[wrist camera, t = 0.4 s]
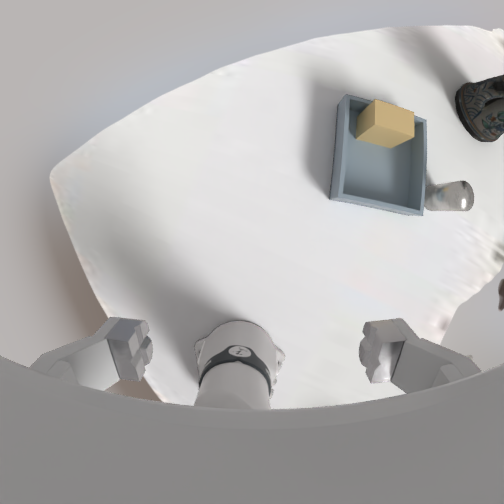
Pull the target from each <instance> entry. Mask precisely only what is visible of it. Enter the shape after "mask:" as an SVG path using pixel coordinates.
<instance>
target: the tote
mask: <svg viewBox="0 0 504 504" xmlns="http://www.w3.org/2000/svg"><path fill="white" fill-rule="evenodd" d="M372 102H373V101H370V100H366V99H363V98H359V97H355V96H351V95H347V94H346V95H345V96H344V97H343V99H342V100H341V101H340V103H339V104H338V107H337V123H336V137H335V149H334V160H333V170H332V180H331V189H330V197H329V200H335V201H340V202H346V203H351V204H356V205H361V206H366V207H371V208H376V209H381V210H386V211H390V212H395V213H399V214H404V215H408V216H423V210H424V199H425V185H426V164H427V126H426V120H425V119H422V118H420V117H417V116H415V115H414V138H411V139H409V140H407V141H405V142H403V143H401V144H399V145H397V146H395V147H393V148H391V149H390V148H387V147H383V146H380V145H376V144H372V143H369V142H365V141H361V140H357V139H356V123H357V116H358V115H359V114H360V113H361V112H362V111H363V110H364V109H365V108H366V107H367V106H369V105H370V104H371V103H372Z"/></svg>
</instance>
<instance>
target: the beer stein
mask: <svg viewBox="0 0 504 504" xmlns="http://www.w3.org/2000/svg"><path fill="white" fill-rule="evenodd" d="M455 103H456V110H457V113H458V115H459V118H460V120H461V122H462V124H463V125H464V127H465V129H466V130H467V131H468V132H469V133H470V135H471V136H472V137H473V138H475V139H477V140H478V141H481V142H493V141H496V140H497V139H498V138H499V137H500V136H501V135H502V134H503V133H504V75H501V76H497V77H493V78H490V79H486V80H483V81H480V82H476V83H470V82H469V83H465V84H463V85H462V86H461V88H460V89H459V90H458V91H457V93H456V97H455Z"/></svg>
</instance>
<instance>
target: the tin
mask: <svg viewBox="0 0 504 504" xmlns="http://www.w3.org/2000/svg"><path fill="white" fill-rule="evenodd" d="M473 203H474V193H473V190H472V187H471V186H470V184H469V183H468V182H466V181H457V182H450V183H443V184H437V185H430V186H427V187H425V199H424V206H425V207H426V209H428V210H430V211H468V210H470V209H471V208H472V206H473Z"/></svg>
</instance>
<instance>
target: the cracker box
mask: <svg viewBox="0 0 504 504" xmlns="http://www.w3.org/2000/svg"><path fill="white" fill-rule="evenodd" d="M411 138H414V112H412V111H409V110H406V109H404V108H401V107H398V106H395V105H392V104H389V103H386V102H383V101H380V100H377V99H375V100H374V101H373V102H372V103H371V104H370V105H369V106H367V107H366V108H365V109H364V110H363V111H362V112H361V113H360V114H359V115H358V116H357V123H356V139H357V140H361V141H365V142H369V143H372V144H376V145H380V146H383V147H387V148H390V149H391V148H393V147H395V146H397V145H399V144H401V143H403V142H405V141H407V140H409V139H411Z"/></svg>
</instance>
